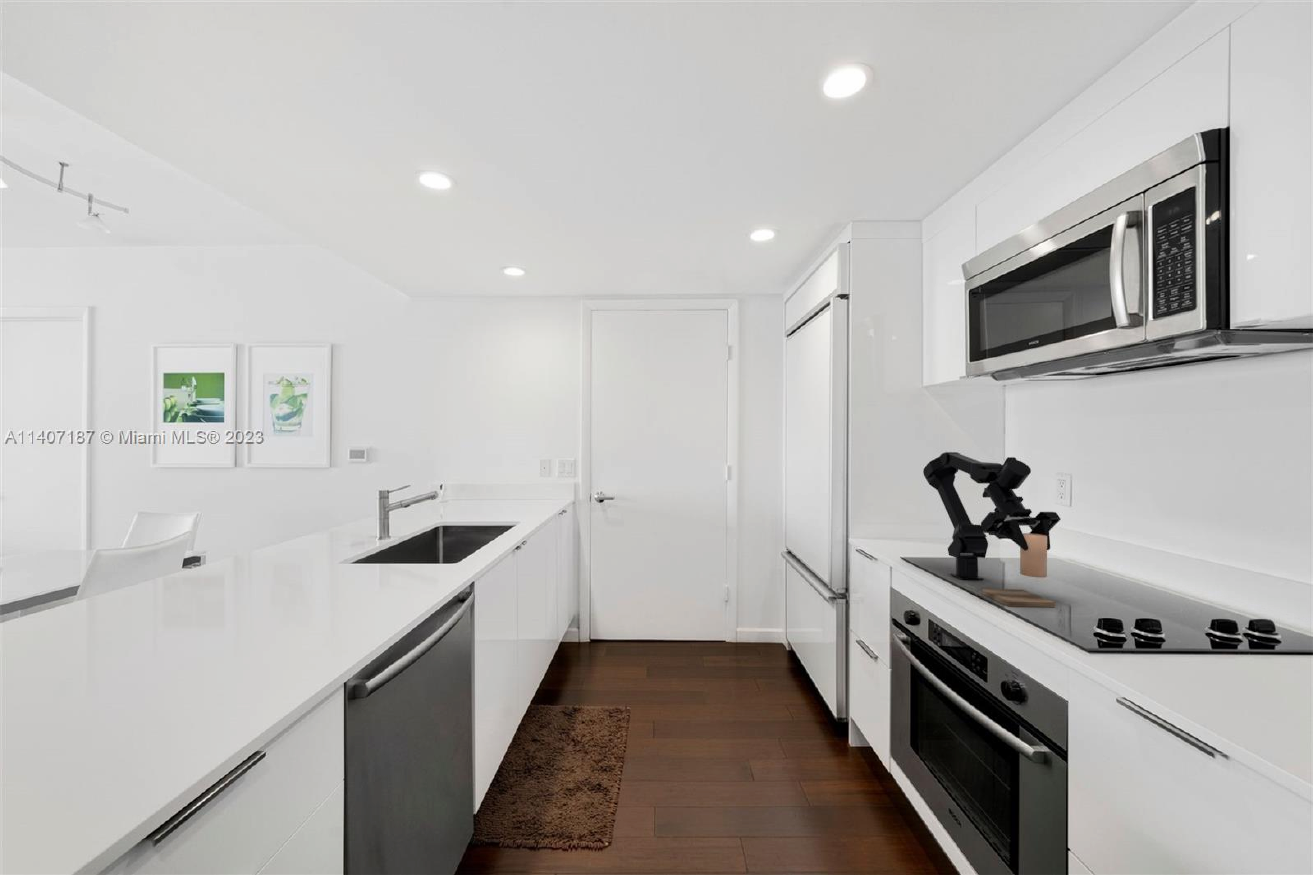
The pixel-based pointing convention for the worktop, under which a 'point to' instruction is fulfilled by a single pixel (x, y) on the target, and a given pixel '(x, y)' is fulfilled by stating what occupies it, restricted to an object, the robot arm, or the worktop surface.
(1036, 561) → the terracotta canister
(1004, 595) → the walnut board
